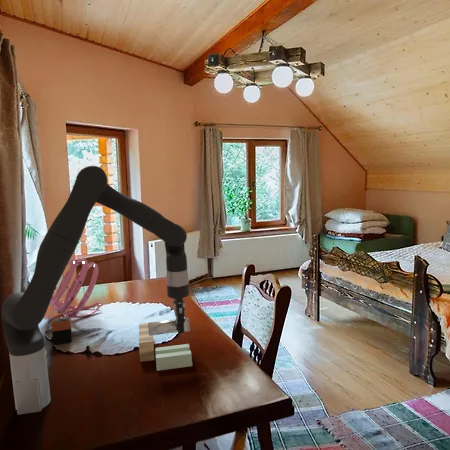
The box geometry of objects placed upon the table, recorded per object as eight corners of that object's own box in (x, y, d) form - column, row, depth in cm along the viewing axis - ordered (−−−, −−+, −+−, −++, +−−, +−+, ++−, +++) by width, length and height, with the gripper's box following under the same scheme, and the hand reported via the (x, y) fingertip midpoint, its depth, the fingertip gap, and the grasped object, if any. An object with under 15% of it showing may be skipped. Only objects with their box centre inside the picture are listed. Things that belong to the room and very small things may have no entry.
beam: (154, 359, 139) (153, 341, 138) (140, 361, 138) (138, 343, 137) (153, 339, 157) (152, 322, 156) (140, 340, 156) (139, 323, 155)
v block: (192, 366, 134) (191, 354, 133) (156, 370, 132) (156, 359, 131) (188, 352, 144) (188, 342, 143) (155, 357, 141) (155, 346, 141)
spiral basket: (115, 263, 204) (66, 240, 191) (122, 290, 180) (67, 265, 166) (86, 306, 207) (35, 286, 193) (89, 338, 182) (32, 317, 169)
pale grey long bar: (188, 328, 140) (188, 316, 139) (190, 332, 135) (189, 320, 135) (148, 332, 137) (148, 320, 136) (149, 337, 133) (148, 325, 132)
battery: (71, 342, 156) (69, 318, 155) (53, 345, 154) (50, 321, 153) (72, 338, 161) (70, 314, 159) (54, 340, 159) (52, 317, 157)
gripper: (165, 277, 141) (168, 323, 143) (168, 289, 127) (171, 339, 129) (186, 276, 142) (188, 321, 144) (191, 287, 128) (193, 336, 131)
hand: (180, 329), depth 137 cm, fingers closed on pale grey long bar, 4 cm apart
